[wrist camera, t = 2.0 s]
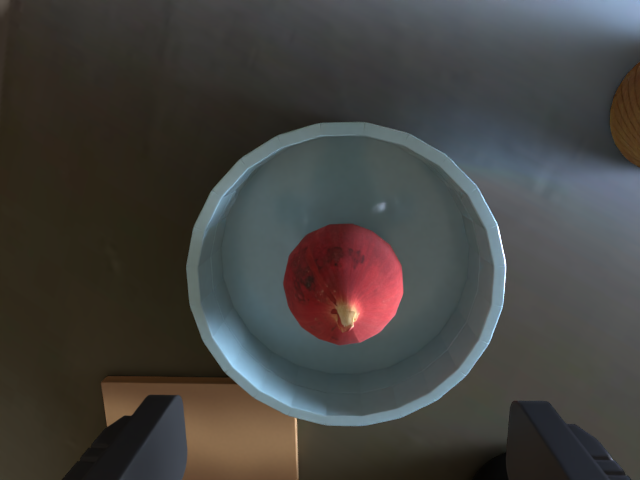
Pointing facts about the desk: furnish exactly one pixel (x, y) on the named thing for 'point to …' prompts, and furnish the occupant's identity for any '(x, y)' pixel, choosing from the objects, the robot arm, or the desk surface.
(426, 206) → the light blue bowl
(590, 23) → the desk surface
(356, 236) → the onion
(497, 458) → the ink bottle
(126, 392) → the plate
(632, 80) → the disposable coffee cup
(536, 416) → the robot arm
